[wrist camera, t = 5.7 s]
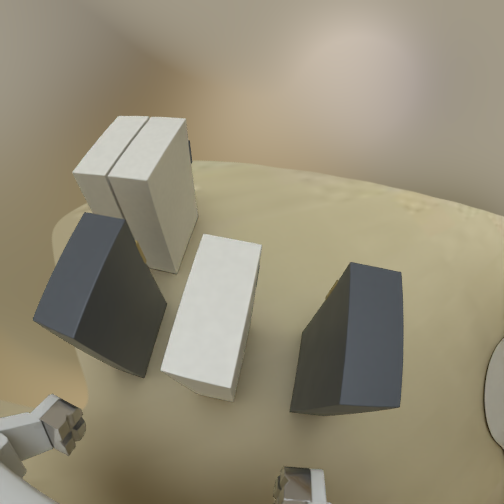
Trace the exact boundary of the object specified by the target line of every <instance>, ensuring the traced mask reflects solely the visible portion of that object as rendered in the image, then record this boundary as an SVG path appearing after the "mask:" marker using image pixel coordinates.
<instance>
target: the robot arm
mask: <svg viewBox="0 0 504 504" xmlns="http://www.w3.org/2000/svg"><path fill="white" fill-rule="evenodd" d="M485 412H486V418H487V423H488V426H489V429H490V432H491V434H492V436H493V438H494V439H495V441H496V442H497V443H498V444H499V445H500V446H501V447H502V448H503V449H504V338H503V339H502V340H501V342H500V343H499V344H498V345H497V347H496V349H495V351H494V353H493V355H492V357H491V360H490V363H489V367H488V371H487V376H486V383H485ZM82 415H83V413H82V410H81V409H80V408H78V407H76V406H74V405H72V404H70V403H68V402H67V401H64V400H63V399H61V398H59V397H58V396H56V395H54V394H51V395H48V397H47V398H45V399H44V400H43V401H42V402H41V403H40V404H39V406H37V407H36V408H35V409H34V410H33V411H32V412H31V413H29V412H26V413H22V414H17V415H12V416H7V417H2V418H0V504H59V503H58V502H56V501H54V500H53V499H51V498H50V497H48V496H47V495H45V494H43V493H42V492H40V491H39V490H37V489H36V488H35V487H33V486H32V485H30V484H29V483H27V482H26V481H25V480H23V479H22V477H23V476H24V475H25V474H26V472H27V471H26V468H25V466H24V465H23V463H22V462H21V461H23V460H25V459H28V458H31V457H33V456H36V455H38V454H41V453H43V452H46V451H48V450H51V449H53V448H55V449H57V450H58V451H60V452H62V453H64V454H66V455H68V456H69V455H70V454H71V452H72V451H73V450H74V448H75V447H76V443H75V442H76V441H79V440H81V439H82V438H83V436H84V434H85V431H86V424H85V421H84V420H83V418H82ZM273 497H274V498H275V499H276V500H275V502H274V504H331V502H327V501H326V489H325V479H324V471H323V469H309V468H298V467H285V466H284V467H282V469H281V473H280V476H278V477H277V480H276V482H275V486H274V492H273Z"/></svg>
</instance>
